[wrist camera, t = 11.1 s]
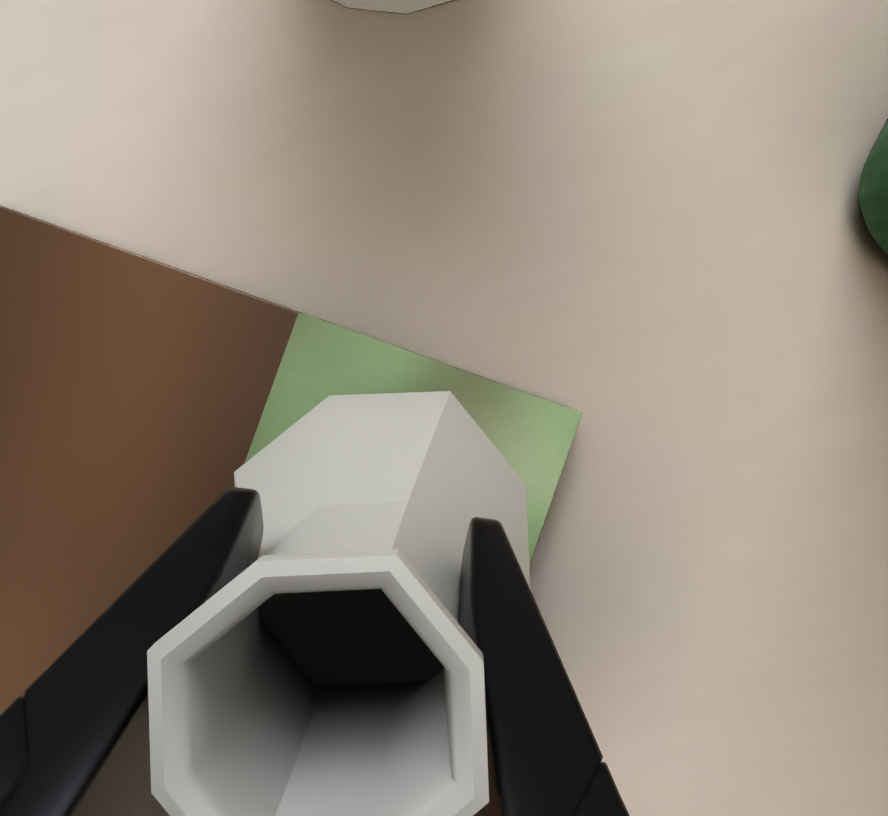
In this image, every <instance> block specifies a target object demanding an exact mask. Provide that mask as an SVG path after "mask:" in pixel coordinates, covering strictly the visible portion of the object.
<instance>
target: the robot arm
mask: <svg viewBox="0 0 888 816" xmlns="http://www.w3.org/2000/svg"><path fill="white" fill-rule="evenodd" d="M263 530H264V524H263V516H262V508H261V500H260V495H259V493H258V491H257V490H254V489H247V488H239V487H231V488H228V489H226V490H225V491H224V492H223V493H222V494H221V495H220V496H219V497H218V498H217V499H216V500H215V501H214V502H213V503H212V504H211V505H210V506H209V507H208V508H207V509H206V510H205V511H204V512H203V513H202V514H201V515H200V516H199V517H198V518H197V519H196V520H195V521H194V522H193V523H192V524H191V525H190V526H189V527H188V528H187V529H186V530H185V531H184V532H183V533H182V534H181V535H180V536H179V537H178V538H177V539H176V540H175V541H174V542H173V543H172V544H171V545H170V546H169V547H168V548H167V549H166V550H165V551H164V552H163V553H162V554H161V555H160V556H159V557H158V558H157V559H156V560H155V561H154V562H153V563H152V564H151V565H150V566H149V567H148V568H147V569H146V570H145V571H144V572H143V573H142V574H141V575H140V576H139V577H138V578H137V579H136V580H135V581H134V582H133V583H132V584H131V585H130V586H129V587H128V588H127V589H126V590H125V591H124V592H123V593H122V594H121V595H120V596H119V597H118V598H117V599H116V600H115V601H114V602H113V603H112V604H111V605H110V606H109V607H108V608H107V609H106V610H105V611H104V612H103V613H102V614H101V615H100V616H99V617H98V618H97V619H96V620H95V621H94V622H93V623H92V624H91V625H90V626H89V627H88V628H87V629H86V630H85V631H84V632H83V633H82V634H81V635H80V636H79V637H78V638H77V639H76V640H75V641H74V642H73V643H72V644H71V645H70V646H69V647H68V648H67V649H66V650H65V651H64V652H63V653H62V654H61V655H60V656H59V657H58V658H57V659H56V660H55V661H54V662H53V663H52V664H51V665H50V666H49V667H48V668H47V669H46V670H45V671H44V672H43V673H42V674H40V675H39V676H38V677H37V678H36V679H35V680H34V681H33V682H32V683H31V684H30V685H29V686H28V687H27V688H26V689H25V691H24V697H23V696H19V697H17V698H16V699H15V700H14V701H13V702H12V703H11V704H10V705H9V706H8V707H7V708H6V709H5V710H4V711H3V712H2V713H1V714H0V816H170V815H169V814H168V813H167V812H166V810H165V809H164V808H163V807H162V805H161V804H160V803H159V802H158V801H157V799H156V798H155V797H154V796H153V794H152V793H151V769H150V735H149V701H148V667H147V651H148V650H149V648H150V647H151V646H152V645H153V644H154V643H155V642H156V641H158V640H159V639H160V638H161V637H163V636H164V635H165V634H166V633H168V632H169V631H170V630H171V629H173V628H174V627H175V626H176V625H177V624H179V623H180V622H181V621H182V620H184V619H185V618H186V617H187V616H189V615H190V614H191V613H192V612H193V611H195V610H196V609H197V608H198V607H200V606H201V605H202V604H203V603H205V602H206V601H207V600H208V599H209V598H211V597H212V596H213V595H214V594H216V593H217V592H218V591H219V590H221V589H222V588H223V587H224V586H225V585H227V584H228V583H229V582H230V581H232V580H233V579H234V578H235V577H237V576H238V575H239V574H240V573H242V572H243V571H244V570H245V569H246V568H248V567H249V566H250V565H251V564H253V563H254V562H255V561H256V560H258V556H259V552H260V547H261V543H262V538H263ZM458 623H459V625H460V626H461V627H462V628H463V630H464V631H465V632H466V633H467V635H468V636H469V637H470V638H471V639H472V641H473V642H474V643H475V644H476V646H477V647H478V648H479V649H480V651H481V652H482V653H483V660H484V682H485V708H486V733H487V758H488V784H489V803H488V804H486V805H485V806H484V807H483V808H482V809H480V810H479V811H478V812H477V813H476V814H474V815H473V816H629V813H628V811H627V809H626V807H625V805H624V803H623V801H622V798H621V796H620V794H619V792H618V789H617V787H616V785H615V783H614V780H613V778H612V776H611V773H610V771H609V769H608V766H607V764H606V763H605V762H601V761H602V758H603V756H602V753H601V751H600V749H599V746H598V744H597V742H596V740H595V737H594V735H593V733H592V730H591V728H590V726H589V723H588V721H587V719H586V716H585V714H584V712H583V710H582V707H581V705H580V703H579V700H578V698H577V696H576V693H575V691H574V689H573V687H572V684H571V682H570V680H569V677H568V675H567V673H566V670H565V668H564V666H563V664H562V661H561V659H560V657H559V654H558V652H557V650H556V647H555V645H554V643H553V640H552V638H551V636H550V634H549V631H548V629H547V627H546V624H545V622H544V620H543V617H542V615H541V613H540V611H539V608H538V606H537V604H536V601H535V599H534V597H533V594H532V592H531V590H530V588H529V585H528V583H527V581H526V578H525V576H524V574H523V571H522V569H521V567H520V564H519V562H518V560H517V558H516V555H515V553H514V551H513V548H512V546H511V544H510V541H509V539H508V537H507V535H506V532H505V530H504V528H503V526H502V524H501V522H500V521H498V520H496V519H489V518H481V517H474V518H472V519H471V521H470V524H469V528H468V532H467V537H466V541H465V545H464V550H463V555H462V563H461V577H460V595H459V612H458Z"/></svg>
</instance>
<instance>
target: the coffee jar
mask: <svg viewBox="0 0 888 816" xmlns="http://www.w3.org/2000/svg"><path fill="white" fill-rule="evenodd" d="M859 201H860V204H861V208H862V212H863V216H864V219H865V222H866V224H867V227H868V229H869V231H870V233H871V234H872V236H873V238H874V239H875V241H876V242H877V243H878V245H879V246H880V247H881V248H882V249H883V250H884V251H885V253H886V254H887V255H888V119H887V121H886V123H885V125H884V127H883V129H882V131H881V133H880V135H879V136H878V138H877V140H876V142H875V144H874V146H873V148H872V150H871V152H870V155H869V157H868V159H867V161H866V163H865V166H864V169H863V172H862V176H861V181H860V190H859Z"/></svg>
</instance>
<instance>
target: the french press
mask: <svg viewBox="0 0 888 816" xmlns="http://www.w3.org/2000/svg"><path fill="white" fill-rule="evenodd" d="M334 1H336V2H338V3H339V4H341V5H343V6H345V7H349V8H358V9H367V10H376V11H385V12H395V13H404V14H407V13H411V12H414V11H418V10H421V9H424V8H428V7H431V6H435V5H438V4H442V3H445V2H448V1H452V0H334Z"/></svg>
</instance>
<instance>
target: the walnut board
mask: <svg viewBox="0 0 888 816" xmlns="http://www.w3.org/2000/svg"><path fill="white" fill-rule="evenodd" d="M436 391H451V392H452V394H453V395H454V396H455V397H456V399H457V400H458V401H459V402H460V404H461V405H462V406H463V407H464V408H465V410H466V411H467V412H468V413H469V415H470V416H471V417H472V418H473V420H474V421H475V422H476V423H477V425H478V426H479V427H480V428H481V429H482V431H483V432H484V433H485V434H486V436H487V437H488V438H489V439H490V441H491V442H492V443H493V444H494V445H495V447H496V448H497V449H498V450H499V452H500V453H501V454H502V455H503V457H504V458H505V459H506V460H507V461H508V463H509V464H510V465H511V466H512V468H513V469H514V470H515V471H516V473H517V474H518V475H519V476H520V478H521V479H522V480H523V481H524V482H525V484H526V494H527V519H528V543H529V564H530V561H531V558H532V555H533V552H534V550H535V547H536V544H537V541H538V538H539V535H540V533H541V530H542V527H543V524H544V521H545V518H546V515H547V513H548V510H549V507H550V504H551V501H552V498H553V495H554V493H555V490H556V487H557V484H558V481H559V478H560V475H561V473H562V470H563V467H564V464H565V461H566V458H567V455H568V453H569V450H570V447H571V444H572V441H573V438H574V436H575V433H576V430H577V427H578V424H579V421H580V418H581V416H582V412H579V411H576V410H573V409H571V408H568V407H565V406H562V405H559V404H557V403H554V402H551V401H548V400H545V399H543V398H540V397H537V396H534V395H531V394H529V393H526V392H523V391H520V390H517V389H515V388H512V387H509V386H506V385H503V384H501V383H498V382H495V381H492V380H489V379H487V378H484V377H481V376H478V375H475V374H473V373H470V372H467V371H464V370H461V369H458V368H456V367H453V366H450V365H447V364H444V363H442V362H439V361H436V360H433V359H430V358H428V357H425V356H422V355H419V354H416V353H414V352H411V351H408V350H405V349H402V348H400V347H397V346H394V345H391V344H388V343H386V342H383V341H380V340H377V339H374V338H372V337H369V336H366V335H363V334H360V333H358V332H355V331H352V330H349V329H346V328H344V327H341V326H338V325H335V324H332V323H330V322H327V321H324V320H321V319H318V318H316V317H313V316H310V315H307V314H304V313H302V312H298V311H295V310H292V309H289V308H286V307H284V306H281V305H278V304H275V303H272V302H269V301H267V300H264V299H261V298H258V297H255V296H253V295H250V294H247V293H244V292H241V291H239V290H236V289H233V288H230V287H227V286H225V285H222V284H219V283H216V282H213V281H211V280H208V279H205V278H202V277H199V276H197V275H194V274H191V273H188V272H185V271H183V270H180V269H177V268H174V267H171V266H169V265H166V264H163V263H160V262H157V261H155V260H152V259H149V258H146V257H143V256H141V255H138V254H135V253H132V252H129V251H127V250H124V249H121V248H118V247H115V246H113V245H110V244H107V243H104V242H101V241H99V240H96V239H93V238H90V237H87V236H85V235H82V234H79V233H76V232H73V231H70V230H68V229H65V228H62V227H59V226H56V225H54V224H51V223H48V222H45V221H42V220H40V219H37V218H34V217H31V216H28V215H26V214H23V213H20V212H17V211H14V210H12V209H9V208H6V207H3V206H0V714H1V713H2V712H3V711H4V710H5V709H6V708H7V707H8V706H9V705H10V704H11V703H12V702H13V701H14V700H15V699H16V698H17V697H19V696H23V697H24V691H25V689H26V688H27V687H28V686H29V685H30V684H31V683H32V682H33V681H34V680H35V679H36V678H37V677H38V676H39V675H40V674H42V673H43V672H44V671H45V670H46V669H47V668H48V667H49V666H50V665H51V664H52V663H53V662H54V661H55V660H56V659H57V658H58V657H59V656H60V655H61V654H62V653H63V652H64V651H65V650H66V649H67V648H68V647H69V646H70V645H71V644H72V643H73V642H74V641H75V640H76V639H77V638H78V637H79V636H80V635H81V634H82V633H83V632H84V631H85V630H86V629H87V628H88V627H89V626H90V625H91V624H92V623H93V622H94V621H95V620H96V619H97V618H98V617H99V616H100V615H101V614H102V613H103V612H104V611H105V610H106V609H107V608H108V607H109V606H110V605H111V604H112V603H113V602H114V601H115V600H116V599H117V598H118V597H119V596H120V595H121V594H122V593H123V592H124V591H125V590H126V589H127V588H128V587H129V586H130V585H131V584H132V583H133V582H134V581H135V580H136V579H137V578H138V577H139V576H140V575H141V574H142V573H143V572H144V571H145V570H146V569H147V568H148V567H149V566H150V565H151V564H152V563H153V562H154V561H155V560H156V559H157V558H158V557H159V556H160V555H161V554H162V553H163V552H164V551H165V550H166V549H167V548H168V547H169V546H170V545H171V544H172V543H173V542H174V541H175V540H176V539H177V538H178V537H179V536H180V535H181V534H182V533H183V532H184V531H185V530H186V529H187V528H188V527H189V526H190V525H191V524H192V523H193V522H194V521H195V520H196V519H197V518H198V517H199V516H200V515H201V514H202V513H203V512H204V511H205V510H206V509H207V508H208V507H209V506H210V505H211V504H212V503H213V502H214V501H215V500H216V499H217V498H218V497H219V496H220V495H221V494H222V493H223V492H224V491H225V490H226V489H228V488H231V487H234V472H235V471H236V470H237V469H239V468H240V467H241V466H242V465H244V464H245V463H246V462H247V461H249V460H250V459H251V458H252V457H253V456H255V455H256V454H257V453H258V452H260V451H261V450H262V449H263V448H265V447H266V446H267V445H268V444H270V443H271V442H272V441H273V440H275V439H276V438H277V437H278V436H280V435H281V434H282V433H283V432H285V431H286V430H287V429H288V428H290V427H291V426H292V425H293V424H295V423H296V422H297V421H298V420H300V419H301V418H302V417H303V416H304V415H306V414H307V413H308V412H309V411H311V410H312V409H313V408H314V407H316V406H317V405H318V404H319V403H321V402H322V401H323V400H324V399H326V398H327V397H328V396H329V395H355V394H382V393H409V392H436Z"/></svg>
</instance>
